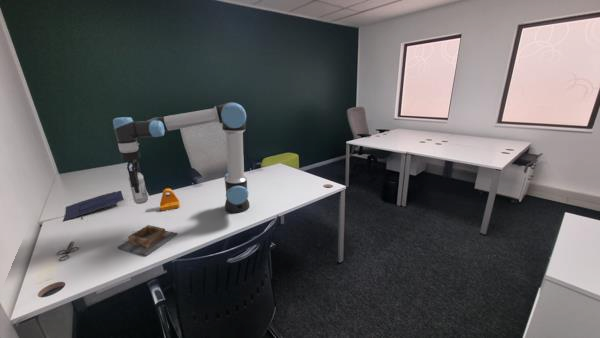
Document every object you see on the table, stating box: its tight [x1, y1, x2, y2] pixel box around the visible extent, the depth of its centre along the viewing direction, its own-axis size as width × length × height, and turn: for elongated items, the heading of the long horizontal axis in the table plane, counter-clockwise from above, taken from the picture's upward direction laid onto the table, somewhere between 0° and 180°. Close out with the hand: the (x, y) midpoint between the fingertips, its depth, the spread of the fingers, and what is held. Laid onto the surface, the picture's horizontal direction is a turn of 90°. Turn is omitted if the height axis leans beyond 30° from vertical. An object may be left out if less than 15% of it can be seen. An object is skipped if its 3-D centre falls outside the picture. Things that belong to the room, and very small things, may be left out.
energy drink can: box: [128, 171, 149, 205], centre depth 120 cm, size 6×6×15 cm
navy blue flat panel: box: [62, 190, 124, 222], centre depth 156 cm, size 24×30×4 cm
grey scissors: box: [56, 240, 79, 262], centre depth 114 cm, size 8×18×2 cm, turn 31°
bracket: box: [159, 188, 180, 212], centre depth 153 cm, size 11×7×12 cm, turn 116°
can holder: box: [117, 224, 178, 257], centre depth 119 cm, size 18×18×5 cm
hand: (140, 195), depth 122 cm, fingers closed on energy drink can, 6 cm apart
